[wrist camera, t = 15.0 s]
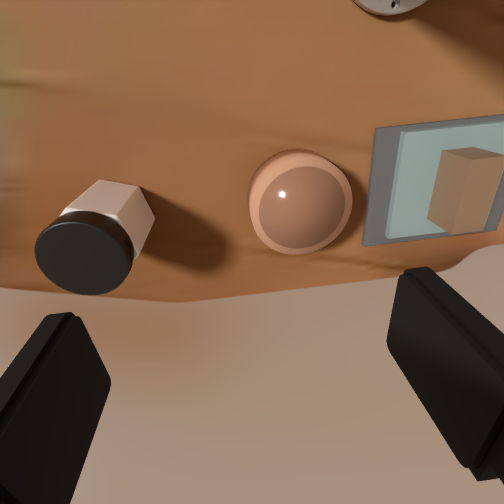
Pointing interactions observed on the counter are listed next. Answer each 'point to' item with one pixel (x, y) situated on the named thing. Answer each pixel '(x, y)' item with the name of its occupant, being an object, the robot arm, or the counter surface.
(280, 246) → the bowl
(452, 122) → the mat
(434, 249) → the counter surface
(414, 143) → the cover
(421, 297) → the robot arm
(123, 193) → the jar
